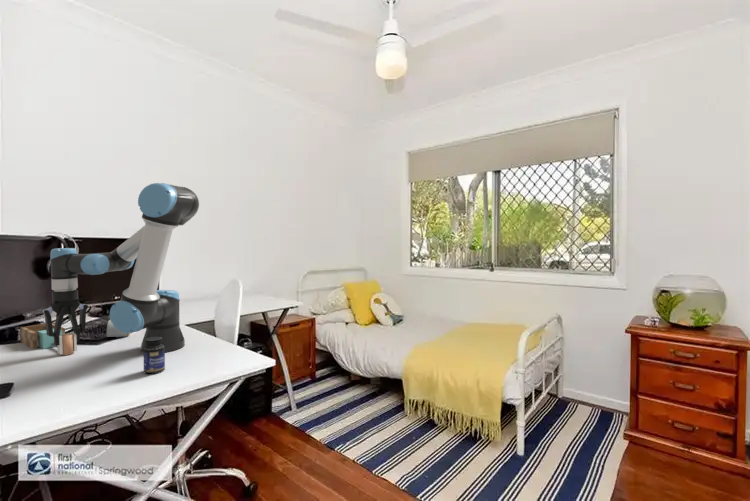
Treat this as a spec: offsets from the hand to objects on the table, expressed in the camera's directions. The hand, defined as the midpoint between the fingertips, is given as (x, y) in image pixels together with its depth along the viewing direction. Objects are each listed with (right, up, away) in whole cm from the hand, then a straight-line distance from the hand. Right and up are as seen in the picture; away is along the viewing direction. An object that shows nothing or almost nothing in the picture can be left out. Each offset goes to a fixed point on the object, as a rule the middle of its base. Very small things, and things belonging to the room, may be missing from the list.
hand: (67, 351), depth 141 cm
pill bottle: (+42, -3, -15) cm, 44 cm away
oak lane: (-22, 0, +14) cm, 26 cm away
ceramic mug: (+3, 0, +25) cm, 25 cm away
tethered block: (-8, 0, +5) cm, 9 cm away
